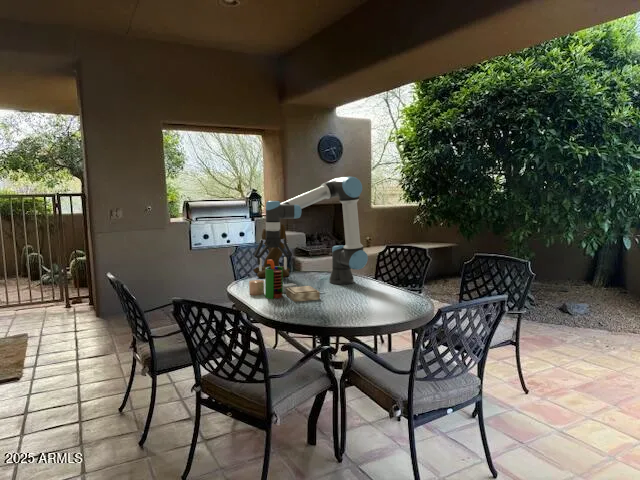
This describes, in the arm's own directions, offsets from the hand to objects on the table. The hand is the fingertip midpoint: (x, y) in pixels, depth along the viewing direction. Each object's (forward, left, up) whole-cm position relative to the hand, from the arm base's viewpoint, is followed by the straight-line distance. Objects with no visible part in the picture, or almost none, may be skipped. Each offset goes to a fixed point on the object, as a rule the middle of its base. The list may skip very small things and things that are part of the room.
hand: (273, 270), depth 231 cm
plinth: (-14, +7, -15) cm, 22 cm away
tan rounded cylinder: (+7, -10, -15) cm, 19 cm away
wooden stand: (-15, -61, -15) cm, 65 cm away
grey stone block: (-11, -9, -15) cm, 21 cm away
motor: (0, 0, -15) cm, 15 cm away
